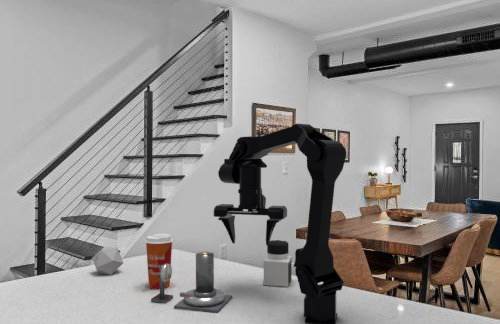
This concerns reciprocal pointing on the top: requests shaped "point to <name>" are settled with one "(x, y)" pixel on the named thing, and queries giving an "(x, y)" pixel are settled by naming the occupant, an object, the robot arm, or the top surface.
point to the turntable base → (204, 308)
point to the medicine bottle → (277, 264)
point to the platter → (195, 301)
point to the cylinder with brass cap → (204, 275)
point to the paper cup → (158, 257)
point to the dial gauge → (164, 277)
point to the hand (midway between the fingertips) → (250, 244)
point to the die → (107, 260)
